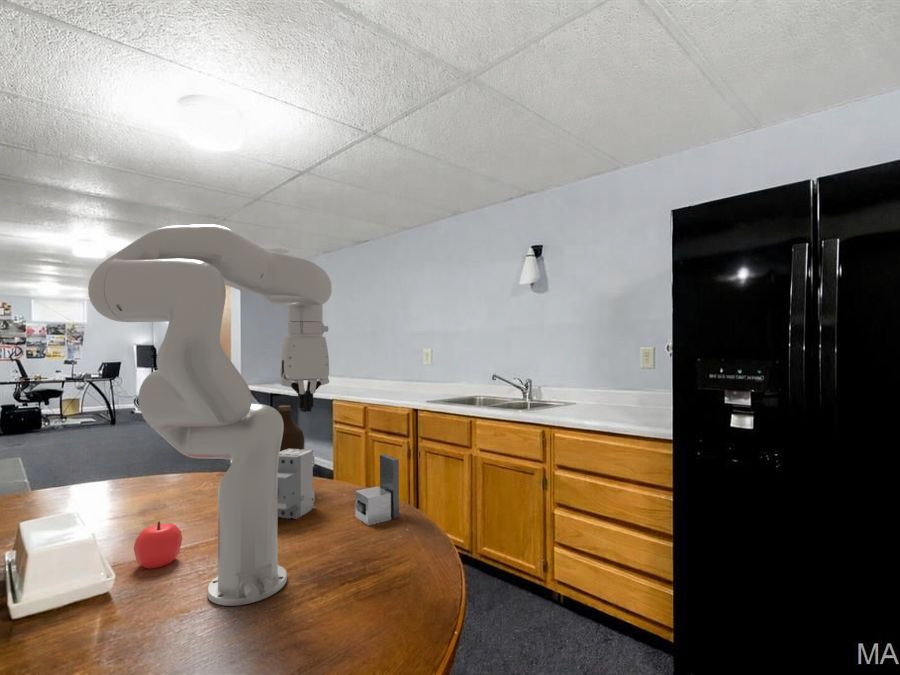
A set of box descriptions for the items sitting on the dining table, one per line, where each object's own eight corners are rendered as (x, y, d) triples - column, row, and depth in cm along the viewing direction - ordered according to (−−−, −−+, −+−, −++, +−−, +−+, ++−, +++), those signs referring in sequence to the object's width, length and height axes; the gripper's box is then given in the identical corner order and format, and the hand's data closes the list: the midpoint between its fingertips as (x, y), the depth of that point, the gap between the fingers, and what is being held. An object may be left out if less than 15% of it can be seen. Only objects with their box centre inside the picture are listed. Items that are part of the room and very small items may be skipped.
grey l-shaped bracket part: (399, 517, 111) (398, 459, 111) (365, 526, 106) (364, 465, 106) (385, 509, 116) (385, 454, 117) (352, 517, 111) (352, 459, 112)
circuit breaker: (253, 526, 106) (253, 461, 106) (288, 505, 120) (288, 448, 120) (281, 529, 104) (281, 463, 105) (314, 507, 118) (314, 449, 118)
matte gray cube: (390, 520, 109) (390, 493, 110) (368, 525, 106) (368, 498, 106) (377, 511, 115) (377, 486, 115) (355, 516, 112) (355, 490, 112)
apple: (133, 560, 89) (134, 519, 89) (180, 550, 94) (181, 511, 94) (133, 577, 83) (133, 533, 83) (183, 565, 87) (184, 523, 87)
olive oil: (305, 497, 127) (305, 407, 127) (264, 502, 123) (264, 409, 123) (302, 486, 136) (302, 402, 137) (264, 491, 132) (264, 404, 133)
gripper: (330, 331, 111) (331, 406, 111) (267, 330, 103) (267, 412, 102) (343, 330, 105) (343, 410, 105) (276, 329, 97) (276, 416, 96)
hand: (305, 410), depth 104 cm, fingers closed
